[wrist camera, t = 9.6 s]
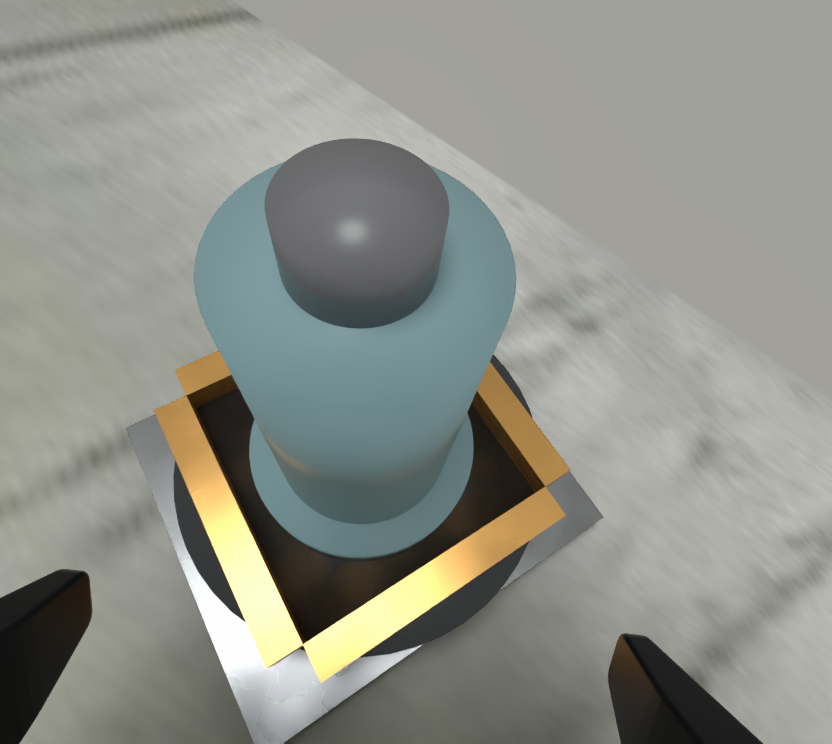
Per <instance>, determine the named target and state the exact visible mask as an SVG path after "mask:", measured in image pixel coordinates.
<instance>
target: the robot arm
mask: <svg viewBox="0 0 832 744" xmlns="http://www.w3.org/2000/svg"><path fill="white" fill-rule="evenodd" d="M91 617H92V600H91V589H90V579H89V576H88V574H87V573H86V572H84V571H78V570H70V569H60V570H57V571H55V572H53V573H51V574H49V575H47V576H45V577H43V578H41V579H39V580H36V581H34V582H32V583H30V584H28V585H26V586H24V587H22V588H20V589H18V590H16V591H14V592H12V593H10V594H8V595H5V596H3V597H1V598H0V744H19V743H20V742H21V740H22V739H23V737H24V736H25V734H26V733H27V731H28V730H29V728H30V727H31V725H32V723H33V722H34V720H35V719H36V717H37V715H38V714H39V712H40V710H41V709H42V707H43V705H44V704H45V702H46V700H47V698H48V697H49V695H50V693H51V691H52V689H53V688H54V686H55V684H56V682H57V681H58V679H59V677H60V675H61V674H62V672H63V670H64V668H65V666H66V665H67V663H68V661H69V659H70V658H71V656H72V654H73V652H74V651H75V649H76V647H77V645H78V643H79V642H80V640H81V638H82V636H83V635H84V633H85V631H86V629H87V627H88V625H89V623H90V620H91ZM608 682H609V689H610V693H611V698H612V703H613V708H614V712H615V717H616V722H617V727H618V731H619V736H620V741H621V744H763V743H762V742H761V741H760V740H759V739H758V738H757V737H755V736H754V735H753V734H752V733H751V732H750V731H749V730H748V729H747V728H746V727H745V726H744V725H742V724H741V723H740V722H739V721H738V720H737V719H736V718H735V717H734V716H733V715H732V714H731V713H729V712H728V711H727V710H726V709H725V708H724V707H723V706H722V705H721V704H720V703H719V702H718V701H716V700H715V699H714V698H713V697H712V696H711V695H710V694H709V693H708V692H707V691H706V690H705V689H703V688H702V687H701V686H700V685H699V684H698V683H697V682H696V681H695V680H694V679H693V678H691V677H690V676H689V675H688V674H687V673H686V672H685V671H684V670H683V669H682V668H681V667H680V666H678V665H677V664H676V663H675V662H674V661H673V660H672V659H671V658H670V657H669V656H668V655H667V654H665V653H664V652H663V651H662V650H661V649H660V648H659V647H658V646H657V645H656V644H655V643H654V642H652V641H651V640H650V639H649V638H648V637H646V636H643V635H635V634H627V633H625V634H622V635H620V637H619V638H618V641H617V644H616V647H615V651H614V654H613V657H612V661H611V664H610V667H609V672H608Z"/></svg>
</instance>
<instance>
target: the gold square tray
mask: <svg viewBox="0 0 832 744" xmlns="http://www.w3.org/2000/svg"><path fill="white" fill-rule="evenodd" d="M175 372H176V374H177V377H178V379H179V381H180V383H181V385H182V387H183V389H184V392H185V394H186V396H184V397H182V398H180V399H177V400H175V401H173V402H171V403H169V404H167V405H164V406H162V407H160V408H158V409H156V410H154V412H155V415H153V416H151V417H148V418H146V419H144V420H142V421H140V422H138V423H135V424H133V425H131V426H129V427H127V428H126V430H127V432H128V435H129V437H130V440H131V442H132V445H133V447H134V450H135V452H136V454H137V457H138V459H139V462H140V464H141V467H142V469H143V472H144V474H145V477H146V479H147V482H148V484H149V487H150V489H151V491H152V494H153V496H154V499H155V501H156V504H157V506H158V509H159V511H160V514H161V516H162V519H163V521H164V523H165V526H166V528H167V531H168V533H169V536H170V538H171V541H172V543H173V546H174V548H175V551H176V553H177V555H178V558H179V560H180V563H181V565H182V568H183V570H184V573H185V575H186V578H187V580H188V583H189V585H190V588H191V590H192V592H193V595H194V597H195V600H196V602H197V605H198V607H199V610H200V612H201V615H202V617H203V620H204V622H205V624H206V627H207V629H208V632H209V634H210V637H211V639H212V642H213V644H214V647H215V649H216V652H217V654H218V656H219V659H220V661H221V664H222V666H223V669H224V671H225V674H226V676H227V679H228V681H229V684H230V686H231V689H232V691H233V693H234V696H235V698H236V701H237V703H238V706H239V708H240V711H241V713H242V716H243V718H244V721H245V723H246V725H247V728H248V730H249V733H250V735H251V738H252V740H253V743H254V744H283V743H284V742H286V741H287V740H288V739H290V738H291V737H293V736H294V735H295V734H297V733H298V732H300V731H301V730H303V729H304V728H305V727H307V726H308V725H310V724H311V723H312V722H314V721H315V720H317V719H318V718H320V717H321V716H322V715H324V714H325V713H327V712H328V711H330V710H331V709H332V708H334V707H335V706H337V705H338V704H339V703H341V702H342V701H344V700H345V699H347V698H348V697H349V696H351V695H352V694H354V693H355V692H356V691H358V690H359V689H361V688H362V687H364V686H365V685H366V684H368V683H369V682H371V681H372V680H373V679H375V678H376V677H378V676H379V675H381V674H382V673H383V672H385V671H386V670H388V669H389V668H390V667H392V666H393V665H395V664H396V663H398V662H399V661H400V660H402V659H403V658H405V657H406V656H407V655H409V654H410V653H412V652H413V651H415V650H416V649H417V648H419V647H420V646H422V645H423V644H425V643H427V642H429V641H432V640H434V639H436V638H439V637H441V636H443V635H445V634H446V633H448V632H449V631H451V630H453V629H454V628H456V627H458V626H459V625H461V624H463V623H464V622H466V621H467V620H468V619H469V618H471V617H472V616H473V615H474V614H475V613H477V612H478V611H479V610H480V609H481V608H483V607H484V606H485V605H486V604H487V603H488V602H489V601H490V600H491V599H492V598H493V597H494V595H495V594H496V593H497V592H498V591H500V590H501V589H502V588H504V587H505V586H507V585H508V584H510V583H511V582H512V581H514V580H515V579H517V578H518V577H519V576H521V575H522V574H524V573H525V572H527V571H528V570H529V569H531V568H532V567H534V566H535V565H536V564H538V563H539V562H541V561H542V560H544V559H545V558H546V557H548V556H549V555H551V554H552V553H553V552H555V551H556V550H558V549H559V548H561V547H562V546H563V545H565V544H566V543H568V542H569V541H570V540H572V539H573V538H575V537H576V536H578V535H579V534H580V533H582V532H583V531H585V530H586V529H587V528H589V527H590V526H592V525H593V524H595V523H596V522H597V521H599V520H600V519H602V518H603V516H602V514H601V513H600V512H599V510H598V509H597V508H596V506H595V505H594V504H593V502H592V501H591V499H590V498H589V497H588V495H587V494H586V493H585V491H584V490H583V489H582V487H581V486H580V485H579V483H578V482H577V481H576V479H575V478H574V477H573V475H572V474H571V473H570V469H569V467H568V466H567V464H566V463H565V462H564V460H563V459H562V458H561V456H560V455H559V454H558V452H557V451H556V450H555V448H554V447H553V446H552V444H551V443H550V442H549V440H548V439H547V438H546V436H545V435H544V434H543V432H542V431H541V430H540V428H539V427H538V426H537V424H536V423H535V421H534V420H533V418H532V415H531V412H530V409H529V407H528V405H527V403H526V401H525V399H524V397H523V395H522V393H521V391H520V389H519V387H518V386H517V384H516V383H515V381H514V380H513V378H512V377H511V375H510V374H509V372H508V371H507V370H506V369H505V367H504V366H503V365H502V364H501V363H500V362H499V360H498V359H497V358H496V357H495V356H494V355H492V358H491V360H490V362H489V364H488V367H487V369H486V371H485V373H484V376H483V378H482V380H481V382H480V385H479V387H478V389H477V391H476V394H475V396H474V398H473V400H472V403H471V405H470V407H469V410H468V412H467V413H468V416H469V419H470V422H471V428H472V433H473V447H474V451H473V462H472V467H471V471H470V476H469V479H468V482H467V484H466V487H465V489H464V492H463V493H462V495H461V497H460V499H459V501H458V503H457V504H456V506H455V507H454V509H453V510H452V512H451V513H450V514H449V516H448V517H447V518H446V520H445V521H444V523H443V524H442V525H441V526H440V527H439V528H438V529H437V530H436V531H435V532H434V533H433V534H432V535H431V536H429V537H428V538H427V539H426V540H424V541H423V542H422V543H420V544H418V545H417V546H415V547H413V548H412V549H410V550H408V551H406V552H403V553H401V554H398V555H396V556H393V557H389V558H385V559H381V560H374V561H366V562H364V561H346V560H339V559H334V558H331V557H328V556H324V555H321V554H319V553H317V552H315V551H313V550H311V549H308V548H307V547H305V546H304V545H302V544H301V543H299V542H298V541H296V540H295V539H294V538H293V537H292V536H290V535H289V534H288V533H287V532H286V531H285V530H284V529H283V528H282V527H281V525H280V524H279V523H278V522H277V521H276V519H275V518H274V517H273V516H272V514H271V513H270V512H269V511H268V509H267V507H266V506H265V504H264V502H263V501H262V499H261V497H260V495H259V493H258V491H257V488H256V486H255V483H254V479H253V476H252V472H251V466H250V458H249V447H250V436H251V430H252V426H253V423H254V417H253V415H252V413H251V411H250V409H249V407H248V405H247V403H246V401H245V399H244V398H243V396H242V394H241V392H240V390H239V388H238V386H237V384H236V382H235V380H234V378H233V376H232V375H231V373H230V371H229V369H228V367H227V365H226V363H225V361H224V359H223V357H222V355H221V353H220V352H219V351H217V352H215V353H212V354H210V355H208V356H206V357H203V358H201V359H199V360H197V361H194V362H192V363H190V364H187V365H185V366H183V367H181V368H178V369H176V370H175Z"/></svg>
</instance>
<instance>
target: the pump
mask: <svg viewBox="0 0 832 744" xmlns="http://www.w3.org/2000/svg"><path fill="white" fill-rule="evenodd" d="M194 284H195V295H196V299H197V302H198V306H199V310H200V313H201V315H202V317H203V320H204V322H205V324H206V326H207V328H208V330H209V332H210V334H211V336H212V338H213V340H214V342H215V344H216V346H217V348H218V350H219V352H220V353H221V355H222V357H223V359H224V361H225V363H226V365H227V367H228V369H229V371H230V373H231V375H232V376H233V378H234V380H235V382H236V384H237V386H238V388H239V390H240V392H241V394H242V396H243V398H244V399H245V401H246V403H247V405H248V407H249V409H250V411H251V413H252V415H253V417H254V423H253V426H252V430H251V436H250V447H249V458H250V466H251V472H252V476H253V479H254V483H255V486H256V488H257V491H258V493H259V495H260V497H261V499H262V501H263V502H264V504H265V506H266V507H267V509H268V511H269V512H270V513H271V514H272V516H273V517H274V518H275V519H276V521H277V522H278V523H279V524H280V525H281V527H282V528H283V529H284V530H285V531H286V532H287V533H288V534H289V535H290V536H292V537H293V538H294V539H295V540H296V541H298V542H299V543H301V544H302V545H304V546H305V547H307V548H308V549H311V550H313V551H315V552H317V553H319V554H321V555H324V556H328V557H331V558H334V559H339V560H346V561H364V562H366V561H374V560H381V559H385V558H389V557H393V556H396V555H398V554H401V553H403V552H406V551H408V550H410V549H412V548H413V547H415V546H417V545H418V544H420V543H422V542H423V541H424V540H426V539H427V538H428V537H429V536H431V535H432V534H433V533H434V532H435V531H436V530H437V529H438V528H439V527H440V526H441V525H442V524H443V523H444V521H445V520H446V518H447V517H448V516H449V514H450V513H451V512H452V510H453V509H454V507H455V506H456V504H457V503H458V501H459V499H460V497H461V495H462V493H463V492H464V489H465V487H466V484H467V482H468V479H469V476H470V471H471V467H472V462H473V451H474V447H473V433H472V428H471V422H470V419H469V416H468V413H467V412H468V410H469V407H470V405H471V403H472V400H473V398H474V396H475V394H476V391H477V389H478V387H479V385H480V382H481V380H482V378H483V376H484V373H485V371H486V369H487V367H488V364H489V362H490V360H491V358H492V355H493V353H494V351H495V349H496V346H497V344H498V342H499V340H500V337H501V335H502V333H503V331H504V328H505V326H506V323H507V321H508V319H509V316H510V314H511V311H512V307H513V302H514V298H515V290H516V271H515V261H514V258H513V254H512V250H511V246H510V244H509V241H508V239H507V237H506V234H505V232H504V230H503V228H502V227H501V225H500V223H499V222H498V220H497V218H496V217H495V215H494V214H493V213H492V212H491V210H490V209H489V208H488V207H487V205H486V204H485V203H484V202H483V201H482V200H481V199H480V198H479V197H478V196H477V195H476V194H475V193H474V192H472V191H471V190H470V189H469V188H467V187H466V186H465V185H463V184H462V183H461V182H460V181H458V180H456V179H455V178H453V177H451V176H450V175H448V174H447V173H445V172H443V171H441V170H439V169H437V168H435V167H433V166H431V165H428V164H426V163H425V162H424V161H423V160H421V159H420V158H419V157H417V156H415V155H414V154H412V153H411V152H409V151H406V150H404V149H402V148H400V147H397V146H395V145H392V144H389V143H385V142H381V141H376V140H370V139H339V140H333V141H328V142H323V143H320V144H317V145H314V146H311V147H309V148H307V149H304V150H303V151H301V152H299V153H297V154H295V155H294V156H293V157H291V158H290V159H289V160H287V161H286V162H283V163H281V164H278V165H276V166H274V167H271V168H269V169H267V170H266V171H264V172H262V173H260V174H258V175H257V176H255V177H253V178H252V179H250V180H249V181H248V182H246V183H245V184H244V185H242V186H241V187H239V188H238V189H237V190H236V191H235V192H234V193H233V194H232V195H231V196H230V197H228V198H227V199H226V201H225V202H224V203H223V204H222V205H221V207H220V208H219V209H218V210H217V211H216V212H215V214H214V216H213V217H212V219H211V220H210V222H209V224H208V225H207V227H206V229H205V231H204V234H203V236H202V238H201V241H200V243H199V247H198V251H197V255H196V259H195V269H194Z"/></svg>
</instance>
